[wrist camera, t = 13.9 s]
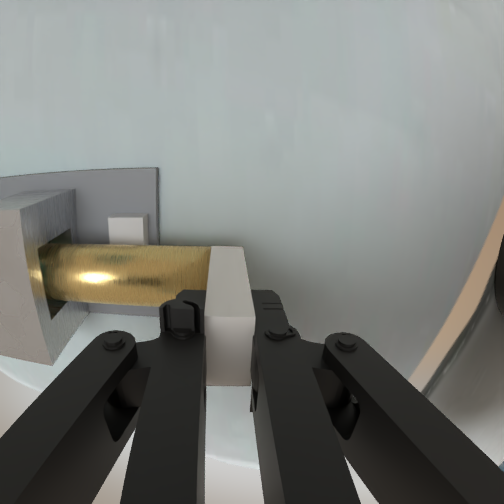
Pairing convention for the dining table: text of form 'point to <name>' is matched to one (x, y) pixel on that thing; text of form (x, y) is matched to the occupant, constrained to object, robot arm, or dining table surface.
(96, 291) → the shaft
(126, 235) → the housing
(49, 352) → the bearing block
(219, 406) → the dining table surface
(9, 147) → the dining table surface
